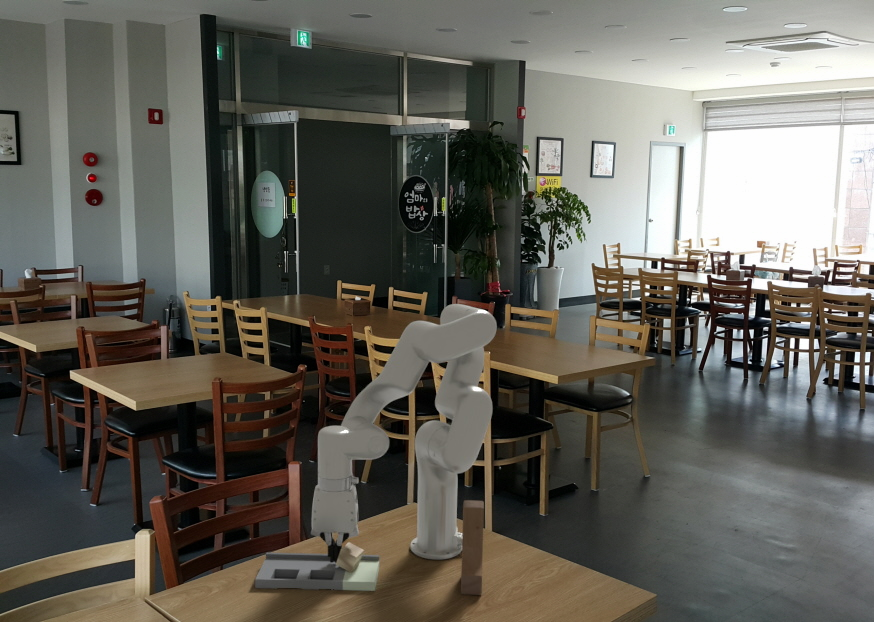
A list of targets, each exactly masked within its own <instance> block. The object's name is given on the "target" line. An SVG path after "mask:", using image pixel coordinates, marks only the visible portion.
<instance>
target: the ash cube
mask: <svg viewBox="0 0 874 622" xmlns="http://www.w3.org/2000/svg"><path fill="white" fill-rule="evenodd" d="M364 551H365V549H363V548H361V547H360V546H358V545H355V544H353V543H352V542H349V541H348V542H347V543H346V544H345V545H344V546H342V549H341V550H340V553H339V556H338V559H337V562H336V565H338V566H340V567H342V568H343V569H345V570H347V571H349V572H352V571H353V570H354V569H355V568H356V567H357V566H358V565H359V563H360V560H361V558H362V555H364Z"/></svg>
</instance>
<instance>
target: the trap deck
mask: <svg viewBox="0 0 874 622" xmlns="http://www.w3.org/2000/svg"><path fill="white" fill-rule="evenodd" d="M379 571H380V554H363V555H362V558H361V560H360V563H359V565H358V566H357V567H356V568H355V569H354V570H353V571H352V572H349V571H347V570H345V569H343V568H342V567H340V566H338V565H336V563H335V562H333V563H332V562H330V557H328V553H308V552H307V553H304V552H302V553H301V552H265V559H264V561H263V563H262V566H261V567H260V569H259V571H258V573H257V575H256V577H255V579H254V587H255V589H277V588H302V589H301V590H319V589H331V590H330V591H363V592H364V591H365V592H367V591H368V592H369V591H371V592H373V591H374V592H376V588H377V582H378V578H379V577H378V575H379ZM333 589H334V590H333Z"/></svg>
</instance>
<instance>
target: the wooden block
mask: <svg viewBox="0 0 874 622" xmlns="http://www.w3.org/2000/svg"><path fill="white" fill-rule="evenodd" d="M484 504H485V503H484V501H483V500H472V499H471V500H469V499H467V500H463V505H462V533H463V535H462V551H461V572H460V573H461V574H460V575H461V576H460V594H461V595H471V596H481V595H482V589H483V554H484V553H483V551H484V550H483V549H484V547H483V546H484V544H483V543H484V515H485V514H484V512H485V510H484V509H485V507H484V506H485V505H484Z"/></svg>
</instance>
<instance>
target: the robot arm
mask: <svg viewBox="0 0 874 622" xmlns="http://www.w3.org/2000/svg"><path fill="white" fill-rule="evenodd" d="M439 320H440V321H439V323H440V324H437V323H433V322H431V321H426V320H416V321H412V322H410V323H409V324H408V325H407V326H406V327H405V329H404V330H403V332H402V334H401V336H400V338H399V340H398V341H397V343H396V345H395V347H394V349H393V351H392V352H391V355H390V356H389V358H388V359H387V361H386V363H385V365H384V367H383V368H382V370H381V372H380V373H379V375H377V377H376V378H375V379H373V380H372V381H371V382H370V383H369V384H367V385H366V386H365V388H363V389H362V390H361V392H359V393H358V395H357V396H356V397H355V398H354V399H353V401H352V403H351V404H350V406H349V408H348V410H347V412H346V413H345V416H344V418H343V420H342V421H341V424H340V425H329V426H325V427H322V428H321V429H320V430H319V431H318V435H317V485H315V487H314V493H313V499H312V506H311V531H310V535H311V536H314V537H318V538H319V537H320V539H321V540H323V541H324V542H325V544H326V546H327V554H328V557H330V562H332V563H333V562H335V563H336V562H337V559H338V556H339V553H340V550H341V549H342V548H343V544H344V543H345V542H346V541H347V540H348V539H349V538H351V539H352V538H354V537H358V536H359V533H360V530H359V526H358V524H359V504H358V503H359V502H358V494H357V488H356V484H359V477H356V476H354V474H353V461H354V460H361V461H363V460H368V461H369V460H376V459H379V458H381V457H382V456H384V455H385V454H386V453H387V451H388V450H389V448H390V438H389V436H388V434H387V432H386V431H385V430H384V429H382V428H381V427H379V426H378V425H376V424H374V422H375V421H376V419H377V417H378V416H379V414H380V412H381V411H382V410H383V409H384V408H385V407H386V406H387V405H388V404H390V403H391V402H393V401H396V400H398V399H402V398H404V397H406V396H409V395H411V394H412V393H413V392H414V391H415V389H416V387H417V385H418V383H419V382H420V379H421V378H422V376H423V374H424V372H425V370H426V368H427V367H428V364H429V363H433V364H441V363H446V362H447V365H446V368H445V369H444V373H443V375H442V379H441V381H440V384H439V387H438V389H437V393H436V395H435V400H434V406H435V408H436V410H437V411H438V413H439V414H441V415H442V416H443V417H445V418H447V419H449V420H451V423H450V424H449V423H447V422H444V421H441V420H435V419H434V420H429V421H426V422H424V423H423V424H422V425H421V426H420V427H419V428H418V430H417V432H416V435H415V438H414V448H415V456H416V462H417V463H416V465H417V510H416V511H417V512H416V513H417V520H416V523H417V524H416V525H417V527H416V529H417V530H416V537H414V538H413V539H412V540H411V542H410V550H411V552H412V553H413V554H414V555H415V556H417V557H420V558H423V559H427V560H434V561H435V560H436V561H437V560H448V559H452V558H454V557H456V556H458V555H460V554H462V535H463V532H460V531H459V530H458V529H459V528H458V526H457V525H458V524H457V522H458V521H457V517H458V516H457V515H458V514H457V511H458V510H457V508H458V474H463V473H465V472H467V471H468V470H469V469H471V468H472V466H473V464H475V461H476V460H477V458H478V455H479V453H480V450H481V447H482V445H483V443H484V440H485V437H486V434H487V431H488V428H489V427H490V426H489V425H490V423H491V419H492V416H493V401H492V398H491V396H490V395H489V393H488V392H487V391H486V390H484V389H483V387H479V382H480V380H481V377H482V373H483V370H484V365H485V349H484V347H485V346H487V345H488V344H489V343H491V341H492V340H493V339H494V337H495V336H496V334H497V333H496V332H497V329H498V326H497V320H496V318H495V317H494V316H493V314H492V313H491V312H489V311H487V310H485V309H482V308H477V307H473V306H470V305H466V304H463V303H462V304H460V303H453V304H449V305H447V306H445V307H444V308H443V310H442V311H441V314H440V319H439ZM458 531H459V532H458ZM334 534H337V538H336V540H335V539H334V536H333V535H334Z"/></svg>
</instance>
